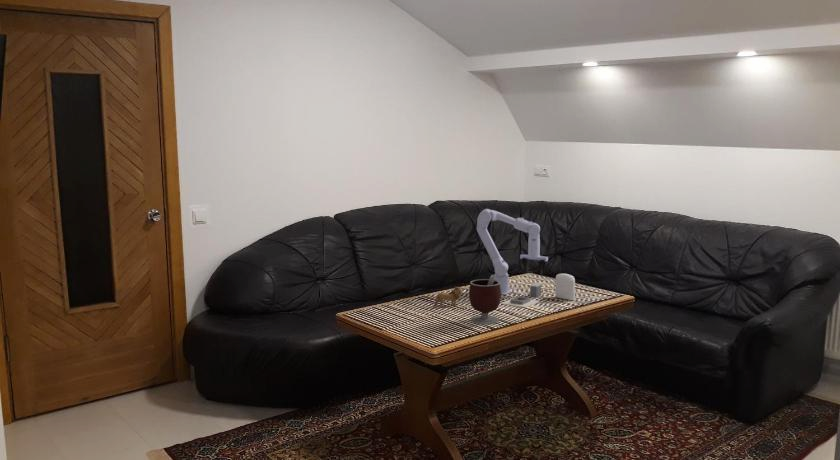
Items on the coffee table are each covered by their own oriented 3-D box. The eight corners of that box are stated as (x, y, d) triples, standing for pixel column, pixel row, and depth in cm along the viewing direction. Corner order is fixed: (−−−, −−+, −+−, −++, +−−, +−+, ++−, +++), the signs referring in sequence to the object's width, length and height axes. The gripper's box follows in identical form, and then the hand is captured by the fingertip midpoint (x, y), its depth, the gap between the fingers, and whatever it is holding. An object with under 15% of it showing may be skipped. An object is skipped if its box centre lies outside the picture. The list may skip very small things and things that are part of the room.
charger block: (530, 296, 323) (530, 285, 322) (534, 294, 327) (534, 283, 326) (536, 297, 321) (536, 286, 320) (541, 295, 325) (541, 284, 324)
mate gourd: (488, 327, 272) (488, 280, 270) (462, 321, 282) (462, 276, 279) (509, 319, 284) (509, 274, 281) (484, 313, 293) (484, 270, 290)
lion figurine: (459, 303, 312) (459, 285, 311) (463, 306, 307) (463, 287, 306) (431, 306, 307) (431, 288, 306) (435, 309, 302) (435, 290, 301)
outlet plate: (501, 303, 310) (501, 300, 310) (515, 297, 321) (515, 294, 321) (525, 307, 302) (525, 303, 302) (539, 301, 313) (539, 297, 313)
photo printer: (553, 297, 322) (554, 272, 320) (559, 295, 324) (559, 271, 322) (570, 301, 314) (571, 276, 312) (576, 299, 316) (576, 274, 315)
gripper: (550, 247, 325) (550, 273, 326) (524, 245, 333) (524, 270, 335) (544, 249, 319) (544, 276, 321) (518, 247, 327) (518, 273, 329)
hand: (533, 273), depth 327 cm, fingers open, 7 cm apart
